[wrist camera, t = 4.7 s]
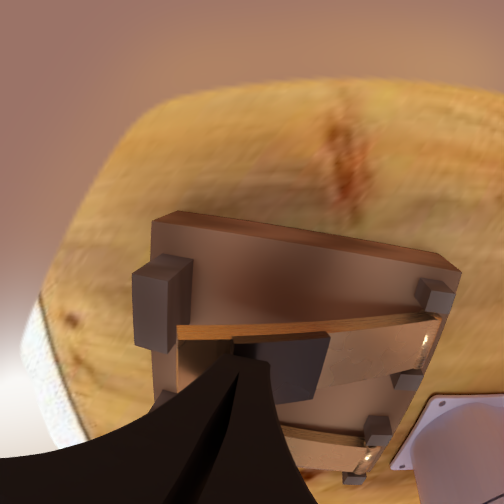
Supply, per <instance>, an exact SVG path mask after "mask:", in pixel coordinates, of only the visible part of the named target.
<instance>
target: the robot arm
mask: <svg viewBox="0 0 504 504" xmlns="http://www.w3.org/2000/svg"><path fill="white" fill-rule="evenodd" d="M270 366H271V365H270V364H269V363H268V362H267V361H262V360H257V359H252V358H246V357H241V356H236V355H232V354H227V353H224V354H222V355H221V356H220V357H219V358H218V359H217V360H216V361H215V362H214V363H213V364H212V365H211V366H210V367H209V368H208V369H206V370H205V371H204V372H203V373H202V374H201V375H200V376H199V377H197V378H196V379H195V380H194V381H193V382H191V383H190V384H189V385H188V386H186V387H185V388H184V389H183V390H181V391H180V392H179V393H177V394H176V395H175V396H173V397H172V398H170V399H169V400H167V401H166V402H165V403H163V404H162V405H160V406H159V407H157V408H156V409H154V410H152V411H151V412H149V413H148V414H146V415H144V416H142V417H141V418H139V419H137V420H135V421H133V422H131V423H129V424H127V425H125V426H123V427H121V428H119V429H117V430H114V431H112V432H110V433H108V434H105V435H103V436H100V437H98V438H95V439H93V440H90V441H87V442H84V443H80V444H77V445H74V446H70V447H66V448H63V449H59V450H56V451H51V452H47V453H41V454H35V455H28V456H20V457H11V458H0V504H318V503H317V502H316V500H315V499H314V497H313V495H312V494H311V492H310V491H309V489H308V487H307V485H306V483H305V482H304V480H303V478H302V476H301V474H300V472H299V470H298V468H297V466H296V463H295V461H294V459H293V457H292V455H291V452H290V450H289V447H288V445H287V442H286V439H285V437H284V434H283V431H282V428H281V425H280V422H279V418H278V415H277V411H276V407H275V403H274V398H273V394H272V387H271V380H270ZM442 401H443V402H442ZM440 402H441V403H440ZM390 468H391V469H392V470H412V469H414V474H415V478H416V483H417V488H418V493H419V498H420V503H421V504H504V394H489V395H435V396H433V397H431V398H430V399H429V401H428V403H427V405H426V407H425V408H424V410H423V412H422V414H421V416H420V417H419V419H418V421H417V423H416V424H415V426H414V428H413V429H412V431H411V433H410V434H409V436H408V438H407V439H406V441H405V442H404V444H403V446H402V447H401V449H400V450H399V452H398V453H397V455H396V456H395V458H394V459H393V461H392V462H391V464H390Z"/></svg>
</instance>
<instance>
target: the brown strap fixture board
mask: <svg viewBox="0 0 504 504" xmlns="http://www.w3.org/2000/svg"><path fill="white" fill-rule="evenodd" d="M461 274H462V272H461V271H460V270H459V269H457V268H456V267H455V266H453V265H452V264H451V263H450V262H448V261H447V260H446V259H445V258H443V257H442V256H441V255H439V254H436V253H431V252H426V251H421V250H415V249H410V248H405V247H400V246H394V245H389V244H383V243H378V242H372V241H367V240H361V239H355V238H350V237H344V236H338V235H332V234H326V233H320V232H314V231H308V230H302V229H296V228H290V227H284V226H277V225H271V224H265V223H258V222H252V221H245V220H238V219H232V218H225V217H218V216H211V215H204V214H197V213H190V212H182V211H176V212H173V213H170V214H168V215H165V216H163V217H160V218H158V219H155V220H153V221H152V227H151V256H150V262H149V263H147V264H146V265H144V266H143V267H141V268H140V269H138V270H137V271H135V272H134V273H132V303H133V326H134V342H135V345H136V346H139V347H143V348H146V349H149V350H151V353H152V372H153V387H154V400H155V403H154V405H153V406H152V408H151V409H150V411H149V412H151V411H152V410H154V409H156V408H157V407H159V406H160V405H162V404H163V403H165V402H166V401H167V400H169V399H170V398H172V397H173V396H175V395H176V394H177V386H176V325H244V324H273V323H295V322H312V321H327V320H341V319H353V318H365V317H376V316H386V315H395V314H404V313H413V312H419V311H420V310H423V309H424V311H427V312H435V313H438V314H439V315H440V316H441V317H442V321H441V323H440V326H439V329H438V331H437V334H436V337H435V339H434V342H433V344H432V347H431V349H430V352H429V354H428V356H427V359H426V361H425V363H424V366H423V368H421V369H409V370H405V371H401V372H397V373H393V374H389V375H385V376H381V377H376V378H372V379H367V380H362V381H358V382H353V383H348V384H342V385H337V386H331V387H325V388H319V389H316V391H315V394H314V397H313V399H312V400H306V401H299V402H292V403H285V404H278V405H275V407H276V411H277V415H278V418H279V422H280V425H284V426H289V427H295V428H300V429H306V430H312V431H318V432H324V433H331V434H338V435H346V436H355V437H364V438H365V442H366V446H382V447H381V449H380V451H379V452H378V454H377V456H376V457H375V459H374V460H373V462H372V464H371V465H370V467H369V468H368V470H367V471H366V472H370V471H371V470H372V468H373V467H374V465H375V463H376V462H377V460H378V459H379V457H380V456H381V454H382V452H383V451H384V449H385V448H386V446H387V445H388V443H389V441H390V440H391V438H392V436H393V434H394V432H395V431H396V429H397V427H398V425H399V423H400V422H401V420H402V418H403V416H404V414H405V412H406V411H407V409H408V407H409V405H410V403H411V401H412V399H413V397H414V395H415V393H416V391H417V389H418V387H419V385H420V383H421V381H422V379H423V377H424V374H425V372H426V369H427V367H428V365H429V363H430V360H431V358H432V356H433V353H434V351H435V349H436V346H437V344H438V341H439V339H440V336H441V333H442V331H443V328H444V326H445V323H446V320H447V317H448V315H449V313H450V310H451V307H452V304H453V301H454V298H455V295H456V291H457V288H458V284H459V281H460V278H461ZM149 412H148V413H149ZM296 466H297V467H301V468H310V469H320V468H313V467H306V466H300V465H296ZM320 470H327V469H320ZM333 471H336V470H333ZM342 476H343V484H347V485H362V483H363V482H364V480H365V479H366V473H364V474H361V475H358V474H355V473H353V472H345V471H342Z"/></svg>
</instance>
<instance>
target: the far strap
mask: <svg viewBox="0 0 504 504" xmlns="http://www.w3.org/2000/svg"><path fill="white" fill-rule="evenodd" d="M281 428H282V431H283V434H284V437H285V439H286V442H287V445H288V447H289V450H290V452H291V455H292V457H293V459H294V461H295V463H296V465H300V466H306V467H313V468H320V469H327V470H336V471H345V472H353V473H355V474H358V475H361V474H364V473H366V471H367V470H368V468H369V467H370V465H371V464H372V462H373V460H374V459H375V457H376V456H377V454H378V452H379V451H380V449H381V447H382V446H366V442H365V438H364V437H355V436H346V435H338V434H331V433H324V432H318V431H312V430H306V429H300V428H295V427H289V426H284V425H281Z"/></svg>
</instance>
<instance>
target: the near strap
mask: <svg viewBox="0 0 504 504" xmlns="http://www.w3.org/2000/svg"><path fill="white" fill-rule="evenodd" d="M441 321H442V317H441V316H440V315H439V314H438V313H435V312H427V311H424V309H423V310H420V311H419V312H413V313H404V314H395V315H386V316H376V317H365V318H353V319H341V320H327V321H312V322H295V323H273V324H244V325H176V386H177V393H179V392H180V391H181V390H183V389H184V388H185V387H186V386H188V385H189V384H190V383H191V382H193V381H194V380H195V379H196V378H197V377H199V376H200V375H201V374H202V373H203V372H204V371H205V370H206V369H208V368H209V367H210V366H211V365H212V364H213V363H214V362H215V361H216V360H217V359H218V358H219V357H220V356H221V355H222V354H224V353H227V354H232V355H236V356H241V357H246V358H252V359H257V360H262V361H267V362H268V363H269V364H270V365H271V366H270V380H271V387H272V394H273V398H274V403H275V405H278V404H285V403H292V402H299V401H306V400H312V399H313V397H314V394H315V391H316V389H319V388H325V387H331V386H337V385H342V384H348V383H353V382H358V381H362V380H367V379H372V378H376V377H381V376H385V375H389V374H393V373H397V372H401V371H405V370H409V369H421V368H423V366H424V363H425V361H426V359H427V356H428V354H429V352H430V349H431V347H432V344H433V342H434V339H435V337H436V334H437V331H438V329H439V326H440V323H441Z"/></svg>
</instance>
